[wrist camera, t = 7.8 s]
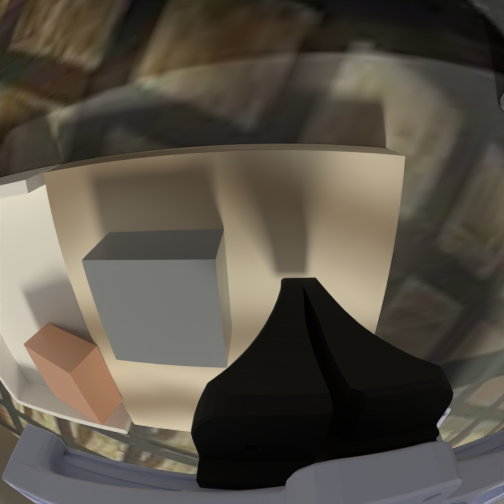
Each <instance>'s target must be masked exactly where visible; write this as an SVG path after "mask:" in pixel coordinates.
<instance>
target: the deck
mask: <svg viewBox="0 0 504 504" xmlns="http://www.w3.org/2000/svg"><path fill="white" fill-rule="evenodd" d="M404 165H405V156H404V155H402V154H399V153H397V152H395V151H392V150H390V149H388V148H379V147H366V146H350V145H328V144H237V145H215V146H199V147H185V148H173V149H162V150H153V151H143V152H135V153H127V154H119V155H112V156H105V157H98V158H92V159H86V160H80V161H74V162H69V163H65V164H63V165H60V166H58V167H56V168H53V169H51V170H49V171H46V172H44V173H43V174H44V179H45V185H46V190H47V195H48V200H49V205H50V209H51V213H52V218H53V222H54V226H55V230H56V234H57V238H58V241H59V245H60V249H61V252H62V256H63V259H64V262H65V266H66V269H67V272H68V275H69V278H70V281H71V284H72V287H73V290H74V293H75V296H76V299H77V302H78V304H79V307H80V310H81V312H82V315H83V318H84V320H85V323H86V325H87V328H88V330H89V333H90V335H91V337H92V340H93V342H94V345H97V346H98V349H99V351H100V353H101V356H102V358H103V360H104V362H105V364H106V367H107V369H108V371H109V373H110V375H111V377H112V379H113V381H114V383H115V385H116V387H117V389H118V391H119V393H120V395H121V397H122V399H123V400H122V403H123V405H124V406H125V408H126V410H127V412H128V414H129V416H130V417H131V419H132V421H133V423H134V424H137V425H143V426H150V427H157V428H164V429H172V430H182V431H191V427H192V422H193V417H194V413H195V410H196V407H197V404H198V401H199V399H200V397H201V394H202V392H203V390H204V388H205V386H206V385H207V383H208V382H209V381H211V380H212V379H213V378H215V377H216V376H217V375H219V374H220V373H221V372H223V371H224V370H225V369H227V368H228V367H229V366H230V365H231V364H232V363H233V362H234V361H235V360H236V359H237V358H238V357H239V356H240V355H241V354H242V353H243V352H244V351H245V350H246V349H247V348H248V347H249V346H250V344H251V343H252V342H253V341H254V339H255V338H256V337H257V335H258V334H259V332H260V331H261V330H262V328H263V326H264V325H265V323H266V321H267V320H268V318H269V316H270V314H271V312H272V310H273V308H274V306H275V303H276V301H277V298H278V295H279V292H280V288H281V280H282V279H283V278H308V277H316V278H317V280H318V281H319V282H320V283H321V284H322V285H323V287H324V288H325V289H326V290H327V291H328V292H329V294H330V295H331V296H332V297H333V298H334V299H335V300H336V301H337V302H338V303H339V305H340V306H341V307H342V308H343V309H344V310H345V311H346V312H347V313H348V314H350V315H351V316H352V317H353V318H354V319H355V320H356V321H357V322H359V323H360V324H361V325H362V326H364V327H365V328H366V329H368V330H369V331H370V332H372V333H373V334H375V331H376V327H377V323H378V319H379V315H380V311H381V307H382V303H383V298H384V294H385V289H386V285H387V280H388V275H389V270H390V265H391V260H392V254H393V249H394V243H395V237H396V231H397V224H398V217H399V210H400V203H401V194H402V185H403V176H404ZM202 229H224V233H225V247H226V261H227V274H228V286H229V298H230V310H231V322H232V334H231V342H230V350H229V358H228V366H227V368H215V367H193V366H176V365H163V364H151V363H141V362H132V361H123V360H116V358H115V355H114V353H113V350H112V348H111V346H110V343H109V341H108V338H107V335H106V333H105V330H104V327H103V325H102V322H101V319H100V317H99V314H98V311H97V308H96V305H95V302H94V299H93V296H92V293H91V290H90V287H89V284H88V281H87V277H86V274H85V271H84V267H83V264H82V259H83V258H84V257H85V256H86V255H87V254H88V253H89V252H90V251H91V250H92V249H93V248H94V247H95V246H96V245H97V244H98V243H99V242H100V241H101V240H102V239H103V238H104V237H105V236H106V235H107V234H108V233H110V232H135V231H165V230H202Z"/></svg>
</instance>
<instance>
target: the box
mask: <svg viewBox="0 0 504 504" xmlns="http://www.w3.org/2000/svg"><path fill="white" fill-rule="evenodd" d="M60 165H62V164H58V165H53V166H48V167H43V168H39V169H34V170H29V171H25V172H21V173H17V174H12V175H8V176H4V177H1V178H0V380H1V382H2V383H3V385H4V386H5V387H6V389H7V390H8V392H9V393H10V394H11V396H12V397H13V398H14V400H15V401H16V402H17V403H19V404H22V405H24V406H27V407H30V408H33V409H36V410H38V411H41V412H44V413H47V414H51V415H54V416H57V417H60V418H64V419H67V420H70V421H74V422H78V423H81V424H85V425H89V426H93V427H97V428H102V429H106V430H111V431H115V432H120V433H125V434H127V433H128V430H129V427H130V424H131V421H132V419H131V417H130V416H129V414H128V412H127V410H126V408H125V406H124V405H123V403H122V401H121V402H120V404H119V405H118V406H117V407H116V409H115V410H114V411H113V413H112V414H111V415H110V416H109V418H108V419H107V420H106V421H105V423H104V424H103V425H101V424H99V423H97V422H96V421H94V420H92V419H90V418H89V417H87V416H85V415H84V414H82V413H81V412H79V411H77V410H76V409H74V408H73V407H71V406H69V405H68V404H66V403H65V402H63V401H62V400H60V399H59V398H57V397H56V396H54V394H53V393H52V391H51V390H50V388H49V387H48V385H47V383H46V382H45V380H44V379H43V377H42V375H41V374H40V372H39V371H38V369H37V367H36V366H35V364H34V362H33V360H32V359H31V357H30V355H29V353H28V352H27V350H26V348H25V346H24V343H25V342H26V341H28V340H29V339H30V338H31V337H32V336H33V335H34V334H36V333H37V332H38V331H39V330H40V329H41V328H43V327H44V326H45V325H46V324H47V323H50V324H52V325H54V326H56V327H58V328H60V329H62V330H64V331H66V332H68V333H70V334H72V335H75V336H77V337H79V338H81V339H83V340H85V341H88V342H90V343H92V344H94V342H93V340H92V337H91V335H90V333H89V330H88V328H87V325H86V323H85V320H84V318H83V315H82V312H81V310H80V307H79V304H78V302H77V299H76V296H75V293H74V290H73V287H72V284H71V281H70V278H69V275H68V272H67V269H66V266H65V262H64V259H63V256H62V252H61V249H60V245H59V241H58V238H57V234H56V230H55V226H54V222H53V218H52V213H51V209H50V205H49V200H48V195H47V190H46V185H45V179H44V174H43V173H44V172H46V171H49V170H51V169H53V168H56V167H58V166H60Z"/></svg>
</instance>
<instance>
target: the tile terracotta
mask: <svg viewBox="0 0 504 504" xmlns="http://www.w3.org/2000/svg"><path fill="white" fill-rule="evenodd" d="M24 346H25V348H26V350H27V352H28V353H29V355H30V357H31V359H32V360H33V362H34V364H35V366H36V367H37V369H38V371H39V372H40V374H41V375H42V377H43V379H44V380H45V382H46V383H47V385H48V387H49V388H50V390H51V391H52V393H53V394H54V396H56V397H57V398H59V399H60V400H62V401H63V402H65V403H66V404H68V405H69V406H71V407H73V408H74V409H76V410H77V411H79V412H81V413H82V414H84V415H85V416H87V417H89V418H90V419H92V420H94V421H96V422H97V423H99V424H101V425H103V424H104V423H105V421H106V420H107V419H108V418H109V416H110V415H111V414H112V413H113V411H114V410H115V409H116V407H117V406H118V405H119V404H120V402H121V401H122V400H123V399H122V397H121V395H120V393H119V391H118V389H117V387H116V385H115V383H114V381H113V379H112V377H111V375H110V373H109V371H108V369H107V367H106V364H105V362H104V360H103V358H102V356H101V353H100V351H99V349H98V346H97V345H94V344H92V343H90V342H88V341H85V340H83V339H81V338H79V337H77V336H75V335H72V334H70V333H68V332H66V331H64V330H62V329H60V328H58V327H56V326H54V325H52V324H50V323H47V324H46V325H45V326H44V327H43V328H41V329H40V330H39V331H38V332H37V333H36V334H34V335H33V336H32V337H31V338H30V339H29V340H28V341H26V342H25V343H24Z"/></svg>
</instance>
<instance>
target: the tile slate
mask: <svg viewBox="0 0 504 504" xmlns="http://www.w3.org/2000/svg"><path fill="white" fill-rule="evenodd" d="M82 264H83V267H84V271H85V274H86V277H87V281H88V284H89V287H90V290H91V293H92V296H93V299H94V302H95V305H96V308H97V311H98V314H99V317H100V319H101V322H102V325H103V327H104V330H105V333H106V335H107V338H108V341H109V343H110V346H111V348H112V350H113V353H114V355H115V358H116V360H123V361H132V362H141V363H151V364H163V365H176V366H193V367H215V368H227V366H228V358H229V350H230V342H231V334H232V322H231V310H230V298H229V286H228V274H227V261H226V247H225V233H224V229H202V230H165V231H135V232H110V233H108V234H107V235H106V236H105V237H104V238H103V239H102V240H101V241H100V242H99V243H98V244H97V245H96V246H95V247H94V248H93V249H92V250H91V251H90V252H89V253H88V254H87V255H86V256H85V257H84V258H83V259H82Z"/></svg>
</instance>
